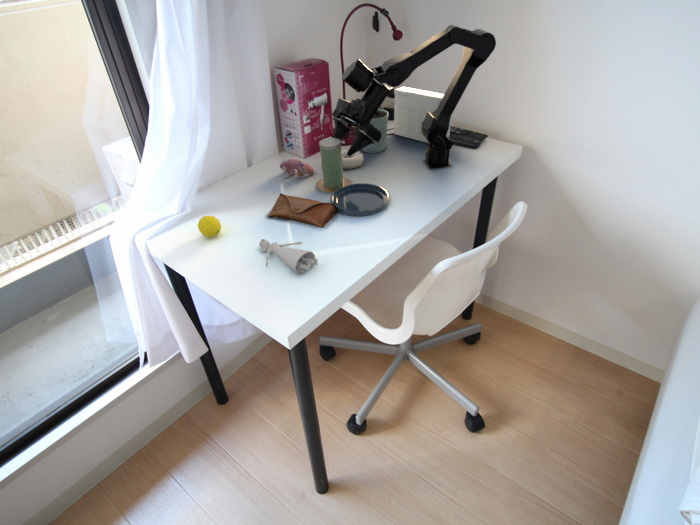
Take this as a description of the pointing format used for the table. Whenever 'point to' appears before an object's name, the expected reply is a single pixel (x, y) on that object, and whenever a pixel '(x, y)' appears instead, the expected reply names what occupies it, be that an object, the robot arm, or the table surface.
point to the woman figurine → (290, 255)
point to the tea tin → (331, 162)
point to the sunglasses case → (303, 210)
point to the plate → (360, 199)
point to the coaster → (323, 188)
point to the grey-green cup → (381, 125)
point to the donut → (351, 159)
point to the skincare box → (414, 111)
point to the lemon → (209, 226)
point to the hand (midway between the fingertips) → (339, 150)
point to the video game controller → (296, 167)
